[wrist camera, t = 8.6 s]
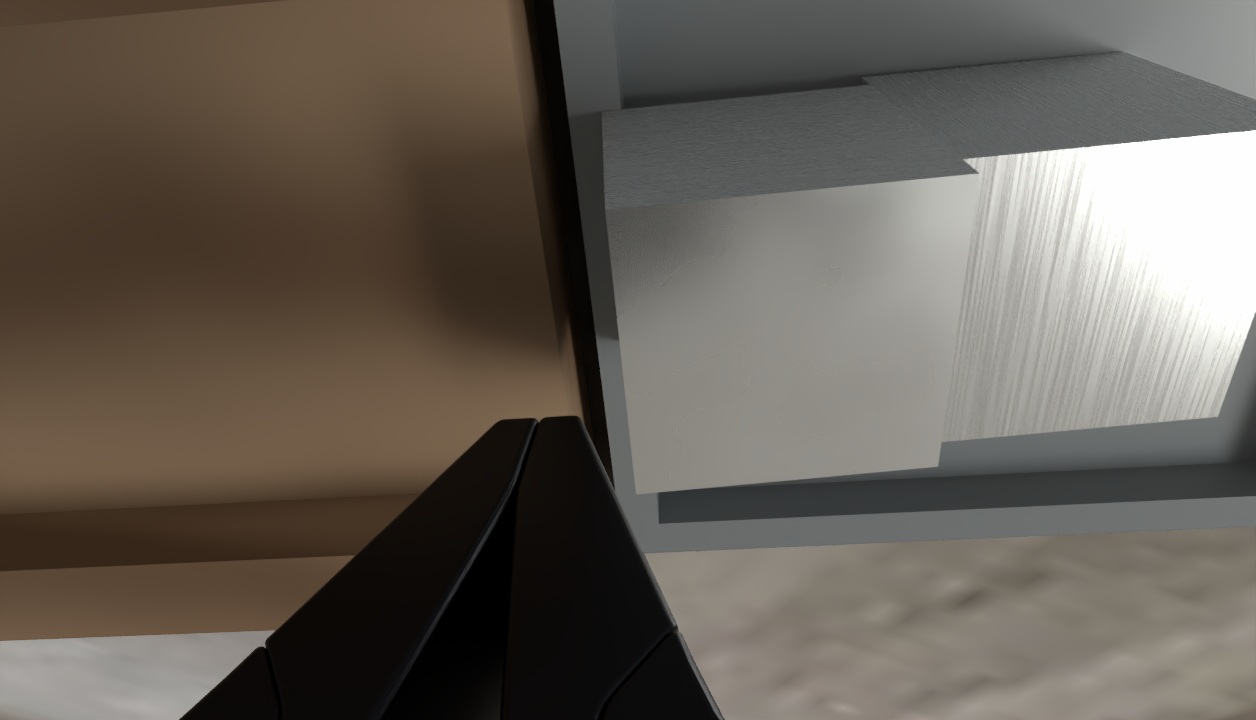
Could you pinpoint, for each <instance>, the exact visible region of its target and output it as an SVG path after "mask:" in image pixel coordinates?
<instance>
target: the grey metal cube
mask: <svg viewBox="0 0 1256 720" xmlns="http://www.w3.org/2000/svg"><path fill="white" fill-rule="evenodd" d="M862 85H872V86H873V87H874V88H875V89H877V90H878V91H879V92H880V93H882V94H883V95H884V96H885V97H887V98H888V99H889V100H890V101H891V102H893V103H894V104H895V105H896V106H898V107H899V108H900V109H901V110H902V111H904V112H905V113H906V114H907V115H909V116H910V117H911V118H912V119H914V120H915V121H916V122H917V123H918V124H920V125H921V126H922V127H923V128H925V129H926V130H927V131H928V132H930V133H931V134H932V135H933V136H934V137H936V138H937V139H938V140H939V141H941V142H942V143H943V144H944V145H946V146H947V147H948V148H949V149H950V150H952V151H953V152H954V153H955V154H957V155H958V156H959V157H960V158H962V159H963V160H964V161H965V162H966V163H968V164H969V165H970V166H971V167H973V168H974V169H975V170H976V171H978V172H979V173H980V176H979V183H978V190H977V197H976V204H975V211H974V218H973V225H972V232H971V239H970V246H969V253H968V260H967V267H966V274H965V281H964V288H963V295H962V302H961V309H960V316H959V323H958V330H957V337H956V344H955V351H954V358H953V365H952V372H951V379H950V386H949V393H948V400H947V407H946V414H945V421H944V428H943V435H942V442H950V441H961V440H971V439H982V438H993V437H1004V436H1015V435H1026V434H1036V433H1047V432H1058V431H1069V430H1080V429H1091V428H1101V427H1112V426H1123V425H1134V424H1145V423H1156V422H1166V421H1177V420H1188V419H1199V418H1210V417H1218V415H1219V412H1220V409H1221V407H1222V404H1223V401H1224V398H1225V396H1226V393H1227V390H1228V387H1229V384H1230V382H1231V379H1232V376H1233V373H1234V370H1235V368H1236V365H1237V362H1238V359H1239V356H1240V354H1241V351H1242V348H1243V345H1244V343H1245V340H1246V337H1247V334H1248V331H1249V329H1250V326H1251V323H1252V320H1253V317H1254V315H1255V312H1256V100H1255V99H1252V98H1250V97H1247V96H1244V95H1241V94H1239V93H1236V92H1233V91H1230V90H1228V89H1225V88H1222V87H1219V86H1217V85H1214V84H1211V83H1208V82H1206V81H1203V80H1200V79H1197V78H1195V77H1192V76H1189V75H1186V74H1184V73H1181V72H1178V71H1175V70H1173V69H1170V68H1167V67H1164V66H1162V65H1159V64H1156V63H1153V62H1151V61H1148V60H1145V59H1142V58H1140V57H1137V56H1134V55H1131V54H1129V53H1126V52H1113V53H1103V54H1093V55H1083V56H1073V57H1063V58H1053V59H1043V60H1033V61H1023V62H1013V63H1003V64H992V65H982V66H972V67H962V68H952V69H942V70H932V71H922V72H912V73H902V74H892V75H881V76H871V77H861V86H862Z"/></svg>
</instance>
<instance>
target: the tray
mask: <svg viewBox="0 0 1256 720" xmlns="http://www.w3.org/2000/svg"><path fill="white" fill-rule="evenodd" d="M554 8H555V16H556V24H557V32H558V40H559V48H560V56H561V64H562V72H563V80H564V88H565V96H566V104H567V112H568V120H569V128H570V135H571V143H572V151H573V159H574V167H575V175H576V183H577V191H578V199H579V207H580V215H581V223H582V231H583V239H584V247H585V255H586V263H587V271H588V279H589V287H590V294H591V302H592V310H593V318H594V326H595V334H596V342H597V350H598V358H599V366H600V374H601V382H602V390H603V398H604V406H605V414H606V422H607V430H608V438H609V446H610V453H611V461H612V469H613V477H614V485H615V492H616V494H617V497H618V499H619V501H620V503H621V505H622V507H623V510H624V512H625V514H626V516H627V518H628V520H629V523H630V525H631V527H632V529H633V531H634V533H635V535H636V538H637V540H638V542H639V544H640V546H641V548H642V551H643V553H661V552H684V551H707V550H730V549H752V548H775V547H798V546H820V545H843V544H866V543H889V542H911V541H934V540H957V539H979V538H1002V537H1025V536H1048V535H1070V534H1093V533H1116V532H1138V531H1161V530H1184V529H1207V528H1229V527H1252V526H1256V312H1255V315H1254V317H1253V320H1252V323H1251V326H1250V329H1249V331H1248V334H1247V337H1246V340H1245V343H1244V345H1243V348H1242V351H1241V354H1240V356H1239V359H1238V362H1237V365H1236V368H1235V370H1234V373H1233V376H1232V379H1231V382H1230V384H1229V387H1228V390H1227V393H1226V396H1225V398H1224V401H1223V404H1222V407H1221V409H1220V412H1219V415H1218V417H1210V418H1199V419H1188V420H1177V421H1166V422H1156V423H1145V424H1134V425H1123V426H1112V427H1101V428H1091V429H1080V430H1069V431H1058V432H1047V433H1036V434H1026V435H1015V436H1004V437H993V438H982V439H971V440H961V441H950V442H941V449H940V456H939V463H938V467H929V468H918V469H907V470H896V471H886V472H875V473H864V474H853V475H842V476H831V477H820V478H810V479H799V480H788V481H777V482H766V483H755V484H744V485H733V486H723V487H712V488H701V489H690V490H679V491H668V492H657V493H647V494H636V490H635V480H634V471H633V462H632V453H631V444H630V434H629V425H628V416H627V407H626V398H625V388H624V379H623V370H622V361H621V352H620V342H619V333H618V324H617V315H616V306H615V296H614V287H613V278H612V269H611V260H610V250H609V241H608V232H607V223H606V214H605V193H604V165H603V136H602V111H609V110H620V109H630V108H640V107H650V106H660V105H670V104H680V103H690V102H700V101H710V100H720V99H731V98H741V97H751V96H761V95H771V94H781V93H791V92H801V91H811V90H821V89H832V88H842V87H852V86H861V77H871V76H881V75H892V74H902V73H912V72H922V71H932V70H942V69H952V68H962V67H972V66H982V65H992V64H1003V63H1013V62H1023V61H1033V60H1043V59H1053V58H1063V57H1073V56H1083V55H1093V54H1103V53H1113V52H1126V53H1129V54H1131V55H1134V56H1137V57H1140V58H1142V59H1145V60H1148V61H1151V62H1153V63H1156V64H1159V65H1162V66H1164V67H1167V68H1170V69H1173V70H1175V71H1178V72H1181V73H1184V74H1186V75H1189V76H1192V77H1195V78H1197V79H1200V80H1203V81H1206V82H1208V83H1211V84H1214V85H1217V86H1219V87H1222V88H1225V89H1228V90H1230V91H1233V92H1236V93H1239V94H1241V95H1244V96H1247V97H1250V98H1252V99H1255V100H1256V0H554Z"/></svg>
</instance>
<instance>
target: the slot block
mask: <svg viewBox="0 0 1256 720" xmlns="http://www.w3.org/2000/svg"><path fill="white" fill-rule="evenodd" d="M572 415H575V416H578V417H580V418H581V419H582V421H583V423H584V425H585V428H586V430H587V432H588V434H589V436H590V438H591V441H592V443H593V445H594V447H595V444H594V437H593V429H592V422H591V415H590V408H589V400H588V393H587V386H586V379H585V371H584V364H583V357H582V350H581V342H580V335H579V328H578V321H577V313H576V306H575V299H574V292H573V284H572V277H571V270H570V263H569V255H568V248H567V241H566V233H565V226H564V219H563V212H562V204H561V197H560V190H559V183H558V175H557V168H556V161H555V154H554V146H553V139H552V132H551V125H550V117H549V110H548V103H547V96H546V88H545V81H544V74H543V67H542V59H541V52H540V45H539V37H538V30H537V23H536V16H535V8H534V1H533V0H0V641H7V640H33V639H59V638H85V637H110V636H136V635H162V634H188V633H214V632H240V631H265V630H277V629H278V628H279V627H280V626H281V625H282V624H283V623H284V622H285V621H286V620H287V619H289V618H290V617H291V616H292V615H293V614H294V613H295V612H296V611H297V610H298V609H299V608H300V607H301V606H302V605H303V604H304V603H305V602H307V601H308V600H309V599H310V598H311V597H312V596H313V595H314V594H315V593H316V592H317V591H318V590H319V589H320V588H321V587H322V586H323V585H325V584H326V583H327V582H328V581H329V580H330V579H331V578H332V577H333V576H334V575H335V574H336V573H337V572H338V571H339V570H340V569H341V568H343V567H344V566H345V565H346V564H347V563H348V562H349V561H350V560H351V559H352V558H353V557H354V556H355V555H356V554H357V553H358V552H359V551H360V550H362V549H363V548H364V547H365V546H366V545H367V544H368V543H369V542H370V541H371V540H372V539H373V538H374V537H375V536H376V535H377V534H378V533H380V532H381V531H382V530H383V529H384V528H385V527H386V526H387V525H388V524H389V523H390V522H391V521H392V520H393V519H394V518H395V517H396V516H398V515H399V514H400V513H401V512H402V511H403V510H404V509H405V508H406V507H407V506H408V505H409V504H410V503H411V502H412V501H413V500H414V499H416V498H417V497H418V496H419V495H420V494H421V493H422V492H423V491H424V490H425V489H426V488H427V487H428V486H429V485H430V484H431V483H432V482H434V481H435V480H436V479H437V478H438V477H439V476H440V475H441V474H442V473H443V472H444V471H445V470H446V469H447V468H448V467H449V466H450V465H452V464H453V463H454V462H455V461H456V460H457V459H458V458H459V457H460V456H461V455H462V454H463V453H464V452H465V451H466V450H467V449H468V448H469V447H471V446H472V445H473V444H474V443H475V442H476V441H477V440H478V439H479V438H480V437H481V436H482V435H483V434H484V433H485V432H486V431H487V430H489V429H490V428H491V427H492V426H493V425H494V424H495V423H496V422H498V421H499V420H503V419H519V418H535V419H537V420H538V421H539V422H540V420H541V419H543V418H545V417H555V416H572Z"/></svg>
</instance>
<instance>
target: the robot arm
mask: <svg viewBox="0 0 1256 720" xmlns="http://www.w3.org/2000/svg"><path fill="white" fill-rule="evenodd" d="M265 646H266V648H264V647H258V648H256V649H255V650H254V651H253V652H252V653H251V654H250V655H249V656H248V657H247V658H246V659H245V660H244V661H243V662H242V663H240V664H239V665H238V666H237V667H236V668H235V669H234V670H233V671H232V672H231V673H230V674H229V675H228V676H227V677H226V678H225V679H223V680H222V681H221V682H220V683H219V684H218V685H217V686H216V687H215V688H214V689H212V690H211V691H210V692H209V693H208V694H207V695H206V696H205V697H204V698H203V699H201V700H200V701H199V702H198V703H197V704H196V705H195V706H194V707H193V708H191V709H190V710H189V711H188V712H187V713H186V714H185V715H184V716H183V717H182V718H180V719H179V720H725V719H724V718H723V716H722V714H721V712H720V710H719V708H718V707H717V705H716V703H715V701H714V699H713V697H712V695H711V693H710V691H709V689H708V687H707V685H706V683H705V681H704V679H703V677H702V675H701V674H700V672H699V670H698V668H697V666H696V664H695V662H694V659H693V657H692V655H691V653H690V651H689V649H688V647H687V644H686V642H685V640H684V638H683V636H682V634H681V633H680V632H678V626H677V624H676V622H675V620H674V617H673V615H672V613H671V611H670V609H669V607H668V605H667V602H666V600H665V598H664V596H663V594H662V592H661V589H660V587H659V585H658V583H657V581H656V579H655V576H654V574H653V572H652V570H651V568H650V566H649V564H648V561H647V559H646V557H645V555H644V553H643V551H642V548H641V546H640V544H639V542H638V540H637V538H636V535H635V533H634V531H633V529H632V527H631V525H630V523H629V520H628V518H627V516H626V514H625V512H624V510H623V507H622V505H621V503H620V501H619V499H618V497H617V494H616V492H615V490H614V488H613V486H612V484H611V482H610V479H609V477H608V475H607V473H606V471H605V469H604V466H603V464H602V462H601V460H600V458H599V456H598V453H597V451H596V449H595V447H594V445H593V443H592V441H591V438H590V436H589V434H588V432H587V430H586V428H585V425H584V423H583V421H582V419H581V418H580V417H578V416H575V415H572V416H555V417H545V418H543V419H541V420H540V422H539V421H538V420H537V419H535V418H519V419H503V420H499V421H498V422H496V423H495V424H494V425H493V426H492V427H491V428H490V429H489V430H487V431H486V432H485V433H484V434H483V435H482V436H481V437H480V438H479V439H478V440H477V441H476V442H475V443H474V444H473V445H472V446H471V447H469V448H468V449H467V450H466V451H465V452H464V453H463V454H462V455H461V456H460V457H459V458H458V459H457V460H456V461H455V462H454V463H453V464H452V465H450V466H449V467H448V468H447V469H446V470H445V471H444V472H443V473H442V474H441V475H440V476H439V477H438V478H437V479H436V480H435V481H434V482H432V483H431V484H430V485H429V486H428V487H427V488H426V489H425V490H424V491H423V492H422V493H421V494H420V495H419V496H418V497H417V498H416V499H414V500H413V501H412V502H411V503H410V504H409V505H408V506H407V507H406V508H405V509H404V510H403V511H402V512H401V513H400V514H399V515H398V516H396V517H395V518H394V519H393V520H392V521H391V522H390V523H389V524H388V525H387V526H386V527H385V528H384V529H383V530H382V531H381V532H380V533H378V534H377V535H376V536H375V537H374V538H373V539H372V540H371V541H370V542H369V543H368V544H367V545H366V546H365V547H364V548H363V549H362V550H360V551H359V552H358V553H357V554H356V555H355V556H354V557H353V558H352V559H351V560H350V561H349V562H348V563H347V564H346V565H345V566H344V567H343V568H341V569H340V570H339V571H338V572H337V573H336V574H335V575H334V576H333V577H332V578H331V579H330V580H329V581H328V582H327V583H326V584H325V585H323V586H322V587H321V588H320V589H319V590H318V591H317V592H316V593H315V594H314V595H313V596H312V597H311V598H310V599H309V600H308V601H307V602H305V603H304V604H303V605H302V606H301V607H300V608H299V609H298V610H297V611H296V612H295V613H294V614H293V615H292V616H291V617H290V618H289V619H287V620H286V621H285V622H284V623H283V624H282V625H281V626H280V627H279V628H278V629H277V630H276V631H275V632H274V633H273V634H272V635H271V636H269V637H268V638H267V640H266V642H265Z"/></svg>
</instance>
